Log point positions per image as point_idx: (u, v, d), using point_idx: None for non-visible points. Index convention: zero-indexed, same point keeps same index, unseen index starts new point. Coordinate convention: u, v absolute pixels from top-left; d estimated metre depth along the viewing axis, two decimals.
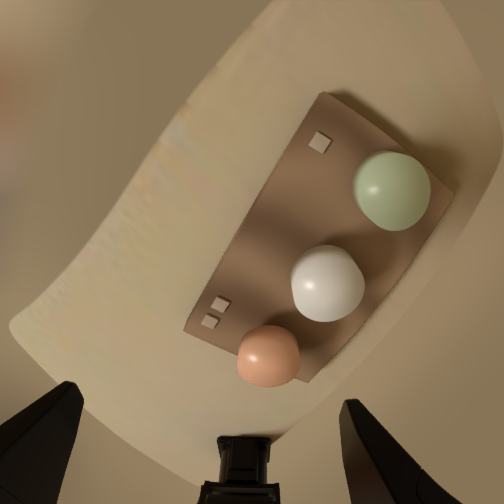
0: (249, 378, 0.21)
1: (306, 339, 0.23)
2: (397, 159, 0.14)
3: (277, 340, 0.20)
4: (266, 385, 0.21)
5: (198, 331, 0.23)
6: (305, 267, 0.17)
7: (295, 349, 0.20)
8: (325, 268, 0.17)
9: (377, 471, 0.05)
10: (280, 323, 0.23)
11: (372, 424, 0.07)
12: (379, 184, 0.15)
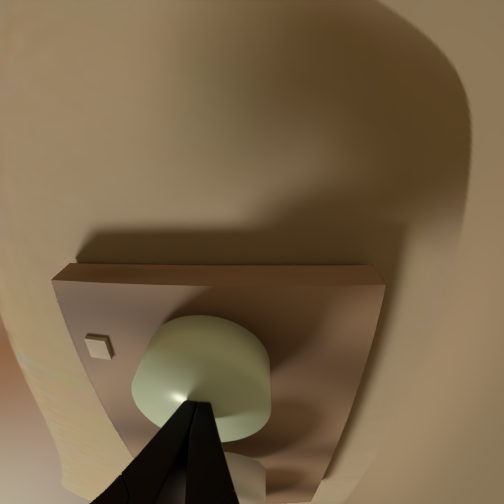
0: None
1: (272, 486, 0.16)
2: (153, 372, 0.08)
3: None
4: None
5: None
6: None
7: None
8: None
9: (185, 478, 0.05)
10: None
11: (207, 431, 0.07)
12: (162, 408, 0.09)
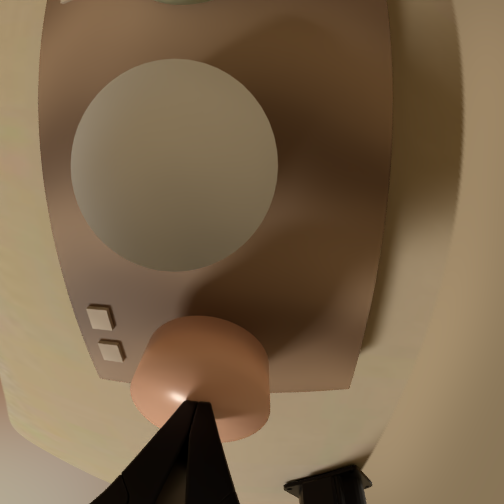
0: None
1: (285, 317, 0.11)
2: None
3: (168, 351, 0.08)
4: (229, 438, 0.09)
5: (113, 371, 0.12)
6: (74, 152, 0.06)
7: (223, 355, 0.08)
8: (108, 119, 0.05)
9: (186, 478, 0.05)
10: (211, 308, 0.11)
11: (208, 430, 0.07)
12: None
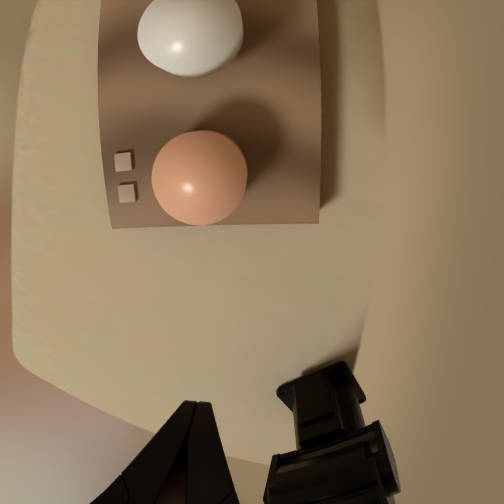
0: (187, 215, 0.14)
1: (258, 146, 0.15)
2: None
3: (182, 134, 0.13)
4: (218, 216, 0.14)
5: (125, 217, 0.17)
6: (140, 23, 0.09)
7: (216, 133, 0.13)
8: (161, 7, 0.09)
9: (185, 478, 0.05)
10: None
11: (208, 430, 0.07)
12: None
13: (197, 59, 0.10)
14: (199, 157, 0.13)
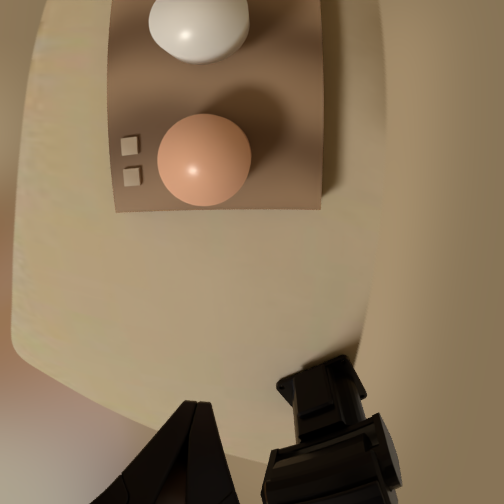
0: (191, 196, 0.14)
1: (262, 132, 0.15)
2: None
3: (188, 116, 0.13)
4: (222, 197, 0.14)
5: (129, 200, 0.17)
6: (151, 11, 0.10)
7: (221, 117, 0.13)
8: None
9: (185, 478, 0.05)
10: None
11: (207, 430, 0.07)
12: None
13: (205, 45, 0.10)
14: (204, 139, 0.13)
